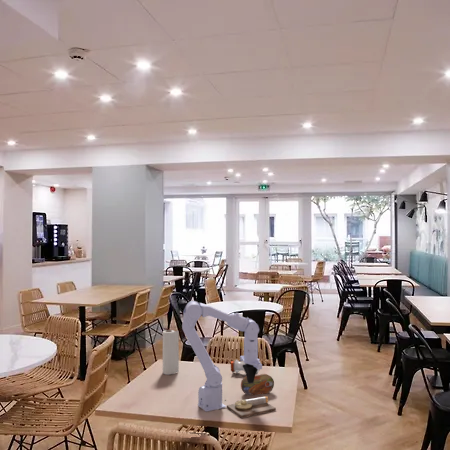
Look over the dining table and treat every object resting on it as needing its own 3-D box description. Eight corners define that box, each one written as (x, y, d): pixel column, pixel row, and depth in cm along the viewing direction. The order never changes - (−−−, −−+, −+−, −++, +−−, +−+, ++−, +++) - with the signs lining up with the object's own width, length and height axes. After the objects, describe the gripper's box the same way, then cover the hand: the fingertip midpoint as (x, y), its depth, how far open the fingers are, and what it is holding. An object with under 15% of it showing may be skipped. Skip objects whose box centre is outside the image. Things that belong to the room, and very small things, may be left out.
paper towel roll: (160, 374, 236) (160, 331, 236) (165, 370, 242) (165, 329, 242) (173, 375, 234) (173, 332, 234) (178, 372, 239) (178, 330, 240)
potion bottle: (262, 379, 232) (233, 380, 236) (263, 363, 240) (235, 364, 244) (258, 367, 227) (228, 368, 231) (259, 351, 235) (231, 352, 239)
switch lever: (239, 411, 185) (239, 405, 185) (231, 405, 192) (231, 399, 192) (271, 405, 191) (271, 399, 191) (263, 399, 198) (263, 394, 198)
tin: (242, 396, 205) (242, 377, 205) (240, 394, 208) (240, 375, 208) (274, 393, 209) (274, 374, 209) (271, 390, 212) (271, 372, 212)
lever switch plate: (241, 418, 181) (241, 415, 181) (226, 407, 192) (226, 405, 192) (275, 410, 189) (275, 407, 189) (259, 400, 200) (259, 398, 200)
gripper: (268, 352, 191) (268, 385, 191) (250, 344, 204) (249, 375, 204) (253, 354, 188) (253, 388, 187) (235, 346, 200) (235, 378, 200)
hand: (250, 382), depth 195 cm, fingers closed
